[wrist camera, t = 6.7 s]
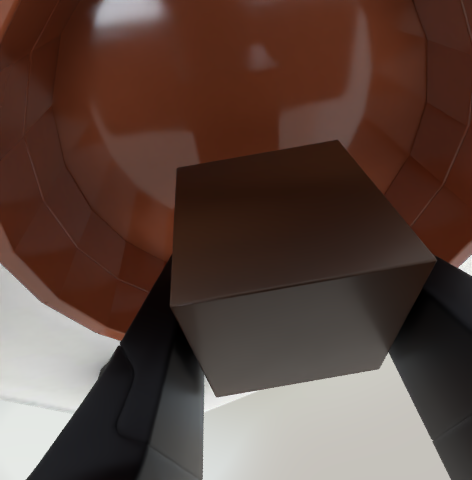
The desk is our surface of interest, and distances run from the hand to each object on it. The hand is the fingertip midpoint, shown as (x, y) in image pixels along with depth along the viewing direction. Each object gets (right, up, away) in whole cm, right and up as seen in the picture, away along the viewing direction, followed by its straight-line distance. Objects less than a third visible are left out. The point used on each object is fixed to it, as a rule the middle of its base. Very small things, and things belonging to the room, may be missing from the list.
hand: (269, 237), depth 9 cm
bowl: (-1, +4, +4) cm, 5 cm away
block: (0, +1, +1) cm, 1 cm away
